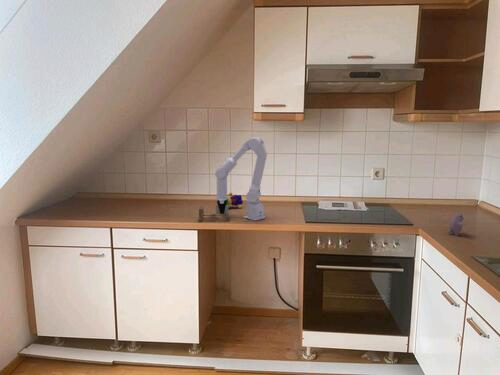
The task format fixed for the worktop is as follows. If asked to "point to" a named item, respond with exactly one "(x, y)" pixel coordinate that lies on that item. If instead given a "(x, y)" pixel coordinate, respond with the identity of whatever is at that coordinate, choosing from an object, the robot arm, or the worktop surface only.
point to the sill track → (211, 216)
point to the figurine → (456, 224)
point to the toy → (234, 200)
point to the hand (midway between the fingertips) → (222, 213)
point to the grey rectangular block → (219, 211)
